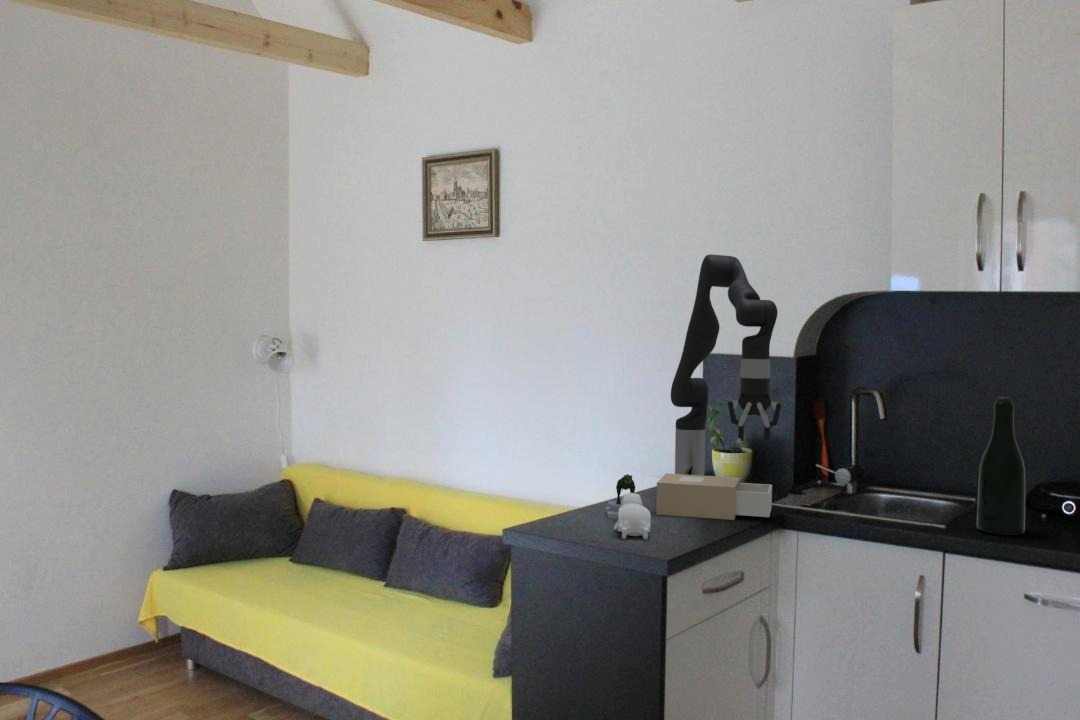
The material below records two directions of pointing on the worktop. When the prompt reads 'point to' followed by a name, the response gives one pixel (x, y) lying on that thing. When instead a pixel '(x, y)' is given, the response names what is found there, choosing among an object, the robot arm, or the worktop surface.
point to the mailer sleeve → (697, 496)
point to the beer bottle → (1002, 477)
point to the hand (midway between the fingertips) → (753, 440)
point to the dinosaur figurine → (614, 507)
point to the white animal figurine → (633, 517)
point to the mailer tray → (753, 499)
